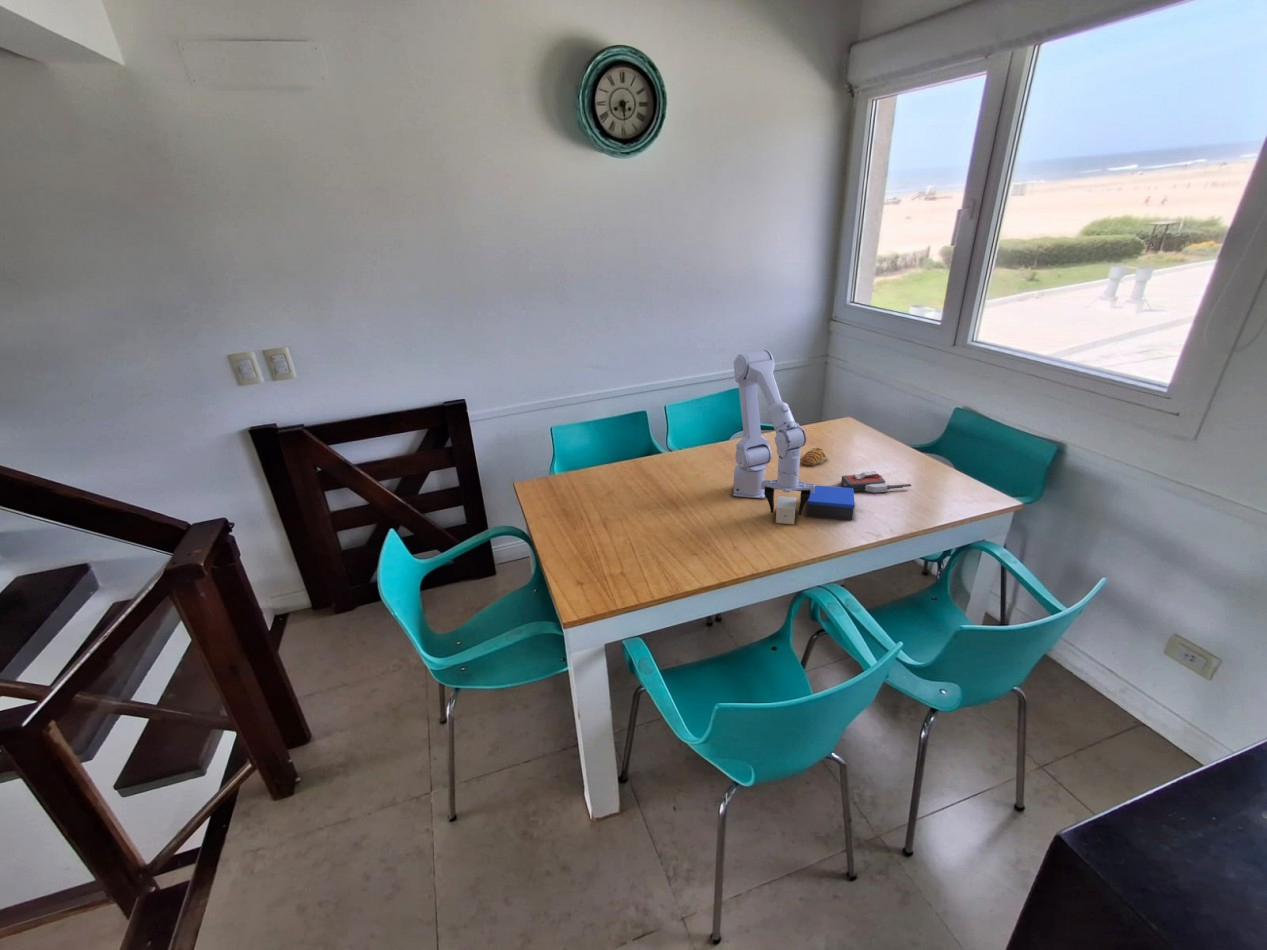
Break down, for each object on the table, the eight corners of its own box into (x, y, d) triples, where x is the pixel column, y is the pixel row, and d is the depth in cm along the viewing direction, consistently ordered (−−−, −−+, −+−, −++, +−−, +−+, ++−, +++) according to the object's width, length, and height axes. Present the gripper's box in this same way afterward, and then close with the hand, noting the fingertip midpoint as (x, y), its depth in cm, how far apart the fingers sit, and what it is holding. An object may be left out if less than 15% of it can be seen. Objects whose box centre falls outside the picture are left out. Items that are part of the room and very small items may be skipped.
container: (806, 516, 160) (808, 501, 158) (807, 499, 169) (809, 484, 167) (852, 520, 156) (854, 505, 154) (851, 503, 165) (853, 488, 163)
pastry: (816, 468, 187) (817, 458, 186) (797, 464, 191) (798, 454, 190) (827, 459, 194) (828, 449, 192) (809, 455, 198) (809, 445, 196)
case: (793, 524, 156) (795, 509, 154) (775, 522, 158) (776, 507, 156) (795, 512, 162) (796, 497, 160) (777, 510, 164) (778, 495, 162)
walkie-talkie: (847, 496, 169) (912, 490, 169) (848, 483, 167) (914, 477, 167) (836, 483, 177) (898, 478, 177) (837, 470, 175) (900, 465, 175)
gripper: (760, 473, 152) (758, 516, 158) (815, 477, 148) (812, 521, 154) (762, 463, 158) (761, 505, 164) (816, 466, 154) (812, 509, 160)
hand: (786, 512), depth 159 cm, fingers open, 7 cm apart
